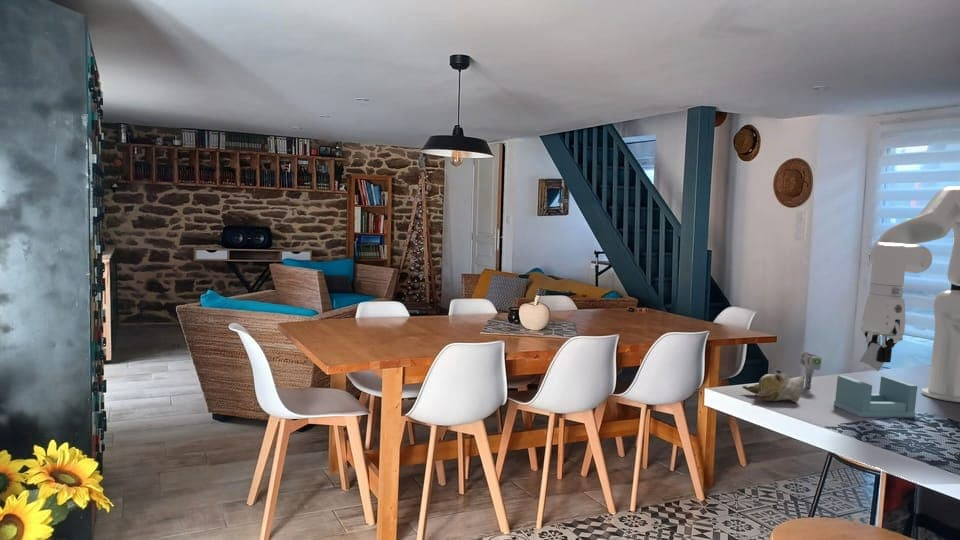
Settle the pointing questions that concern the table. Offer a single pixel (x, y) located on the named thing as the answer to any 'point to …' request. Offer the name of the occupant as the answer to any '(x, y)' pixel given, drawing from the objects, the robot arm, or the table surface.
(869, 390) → the teal open frame
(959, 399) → the robot arm
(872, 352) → the brushed grey metal block
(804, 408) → the table surface
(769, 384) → the ceramic sculpture
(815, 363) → the mechanical component
